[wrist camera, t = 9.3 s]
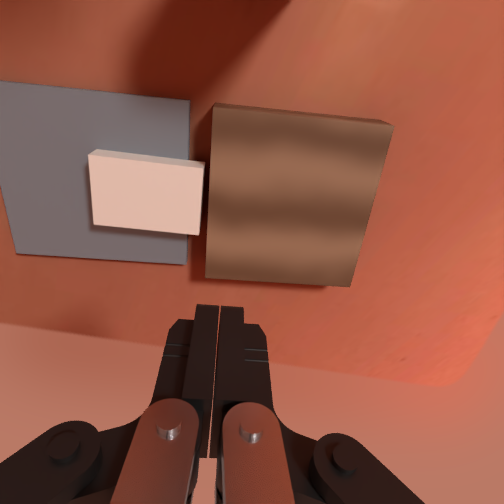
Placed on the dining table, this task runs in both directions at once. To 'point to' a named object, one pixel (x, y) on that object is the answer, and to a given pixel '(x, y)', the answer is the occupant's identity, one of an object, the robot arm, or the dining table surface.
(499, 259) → the dining table surface
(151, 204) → the cream tile
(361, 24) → the dining table surface
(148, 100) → the slate mat
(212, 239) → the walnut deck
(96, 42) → the dining table surface
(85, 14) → the dining table surface
